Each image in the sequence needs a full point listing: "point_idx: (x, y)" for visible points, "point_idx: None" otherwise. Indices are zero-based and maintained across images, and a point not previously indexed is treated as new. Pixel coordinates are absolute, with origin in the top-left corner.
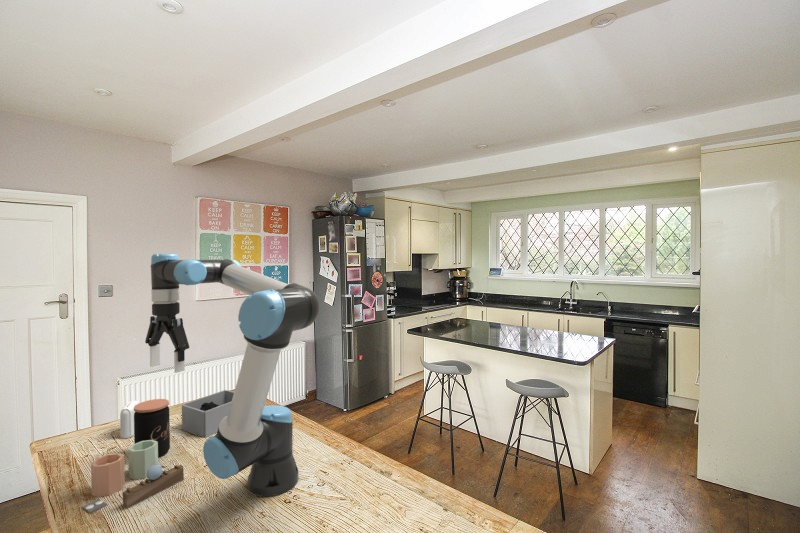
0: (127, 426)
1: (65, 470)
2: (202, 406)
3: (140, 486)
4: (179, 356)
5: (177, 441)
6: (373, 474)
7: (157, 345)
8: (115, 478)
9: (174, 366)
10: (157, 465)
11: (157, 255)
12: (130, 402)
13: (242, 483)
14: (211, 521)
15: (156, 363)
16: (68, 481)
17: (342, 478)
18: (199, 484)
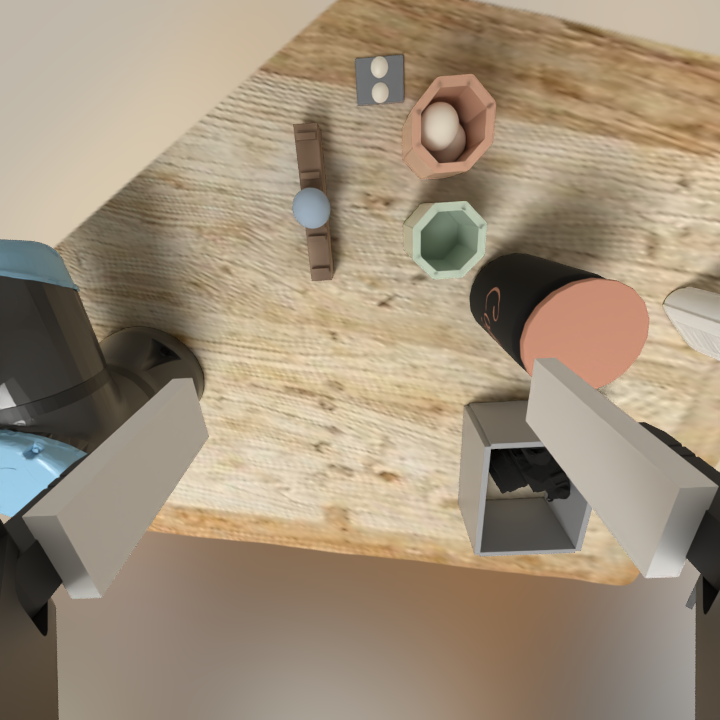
0: (695, 306)
1: (657, 105)
2: (557, 469)
3: (305, 166)
4: (50, 490)
5: (512, 360)
6: None
7: (660, 559)
8: (406, 141)
9: (166, 403)
10: (306, 216)
11: None
12: None
13: (196, 338)
14: (107, 225)
15: (536, 404)
16: (580, 86)
17: None
18: (266, 285)
